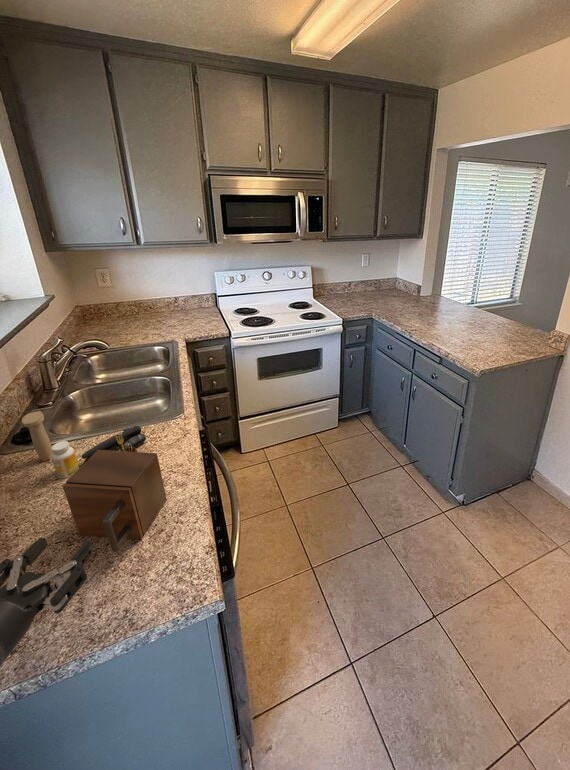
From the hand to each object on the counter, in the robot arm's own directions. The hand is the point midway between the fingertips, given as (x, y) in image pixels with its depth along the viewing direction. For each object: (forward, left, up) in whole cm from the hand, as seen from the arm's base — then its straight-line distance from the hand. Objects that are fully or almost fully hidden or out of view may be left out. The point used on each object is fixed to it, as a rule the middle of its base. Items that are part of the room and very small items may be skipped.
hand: (67, 542), depth 63 cm
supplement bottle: (-32, +35, -19) cm, 51 cm away
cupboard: (-6, +22, -19) cm, 29 cm away
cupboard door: (-7, +13, -18) cm, 23 cm away
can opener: (-24, +45, -19) cm, 54 cm away
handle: (-43, +40, -19) cm, 62 cm away
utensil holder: (-14, +37, -19) cm, 44 cm away
